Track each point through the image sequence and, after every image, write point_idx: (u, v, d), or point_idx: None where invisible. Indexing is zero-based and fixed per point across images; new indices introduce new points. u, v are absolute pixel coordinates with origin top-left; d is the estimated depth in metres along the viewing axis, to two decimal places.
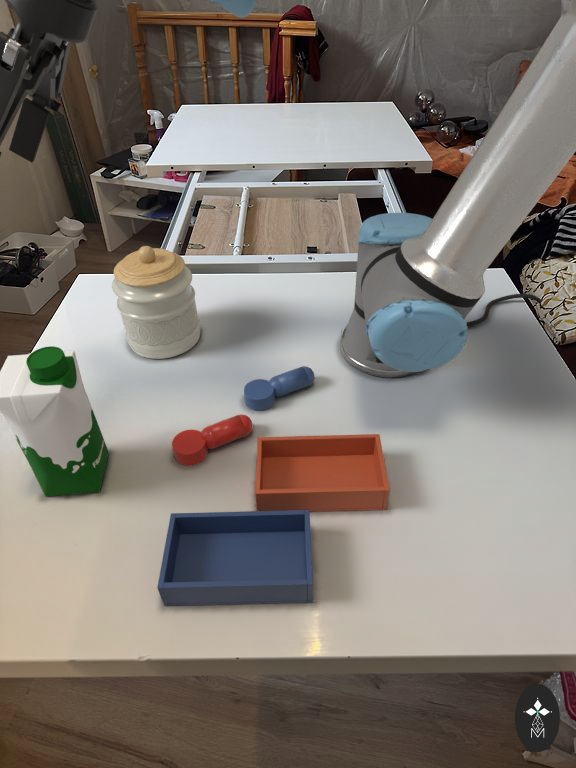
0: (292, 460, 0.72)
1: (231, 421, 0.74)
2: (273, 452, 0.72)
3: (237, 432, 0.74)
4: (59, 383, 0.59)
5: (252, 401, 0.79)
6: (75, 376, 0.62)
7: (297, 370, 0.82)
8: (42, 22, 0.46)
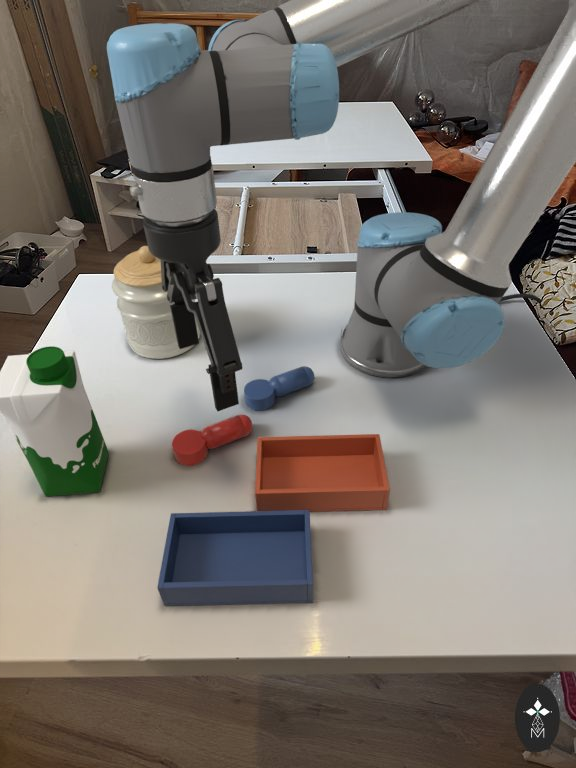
0: (292, 460, 0.72)
1: (231, 421, 0.74)
2: (273, 452, 0.72)
3: (237, 432, 0.74)
4: (59, 383, 0.59)
5: (252, 401, 0.79)
6: (75, 376, 0.62)
7: (297, 370, 0.82)
8: (204, 252, 0.53)
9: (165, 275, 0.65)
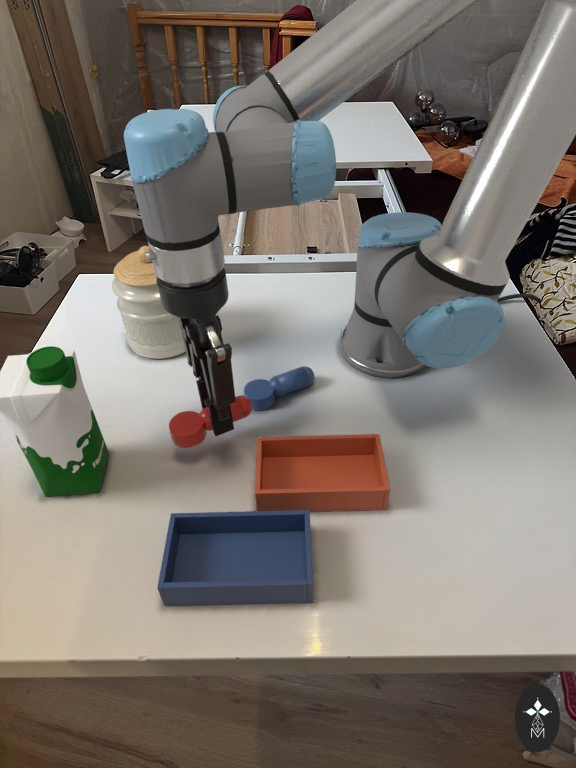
0: (292, 460, 0.72)
1: None
2: (273, 452, 0.72)
3: (236, 414, 0.72)
4: (59, 383, 0.59)
5: (252, 401, 0.79)
6: (75, 376, 0.62)
7: (297, 370, 0.82)
8: (214, 308, 0.57)
9: (186, 343, 0.68)
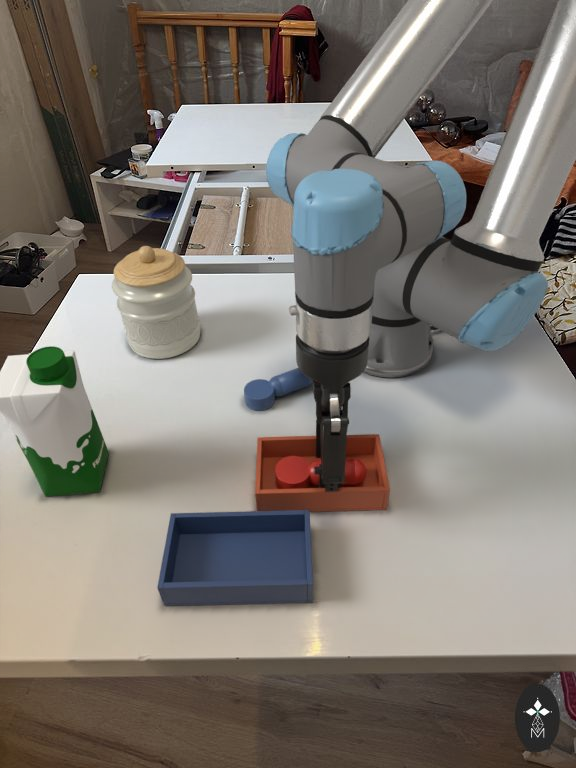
0: None
1: None
2: (273, 452, 0.72)
3: None
4: (59, 383, 0.59)
5: (252, 401, 0.79)
6: (75, 376, 0.62)
7: (297, 370, 0.82)
8: (343, 379, 0.53)
9: None
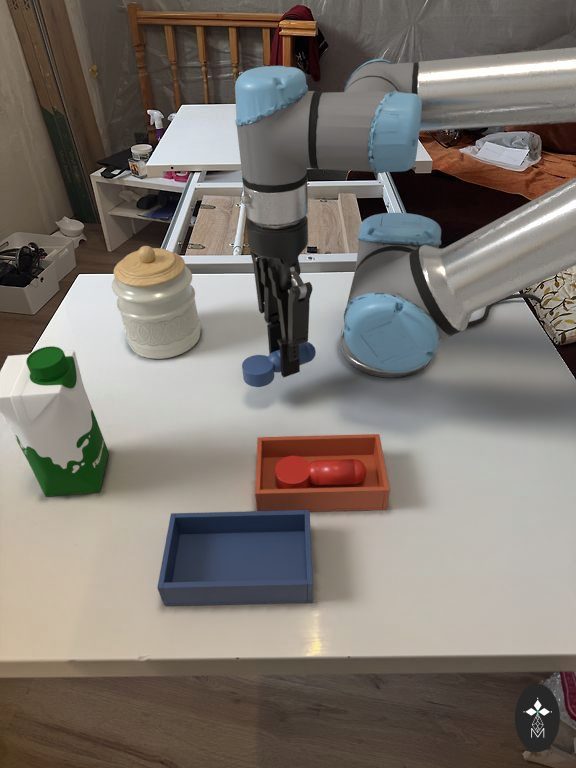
0: None
1: (343, 464, 0.67)
2: (273, 452, 0.72)
3: (345, 478, 0.67)
4: (59, 383, 0.59)
5: (250, 377, 0.76)
6: (75, 376, 0.62)
7: None
8: (297, 249, 0.64)
9: (260, 290, 0.75)
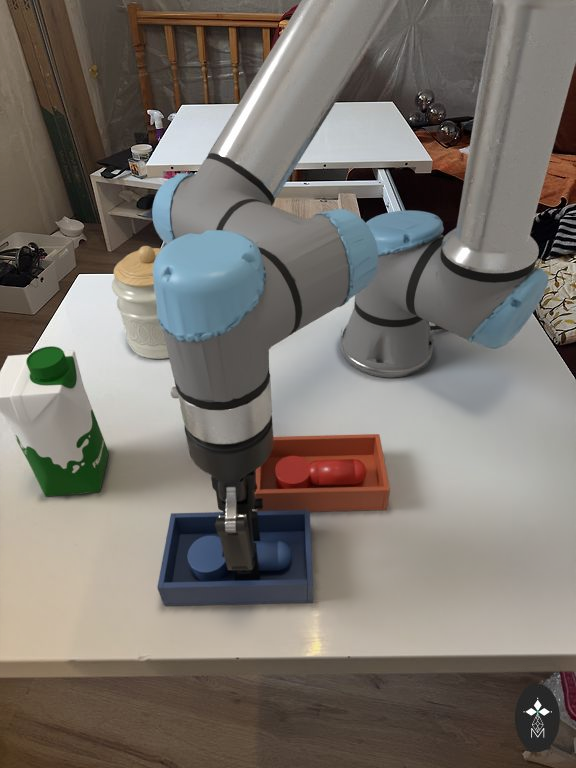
0: None
1: (343, 464, 0.67)
2: (273, 452, 0.72)
3: (345, 478, 0.67)
4: (59, 383, 0.59)
5: (190, 567, 0.59)
6: (75, 376, 0.62)
7: (267, 546, 0.59)
8: (238, 472, 0.44)
9: None
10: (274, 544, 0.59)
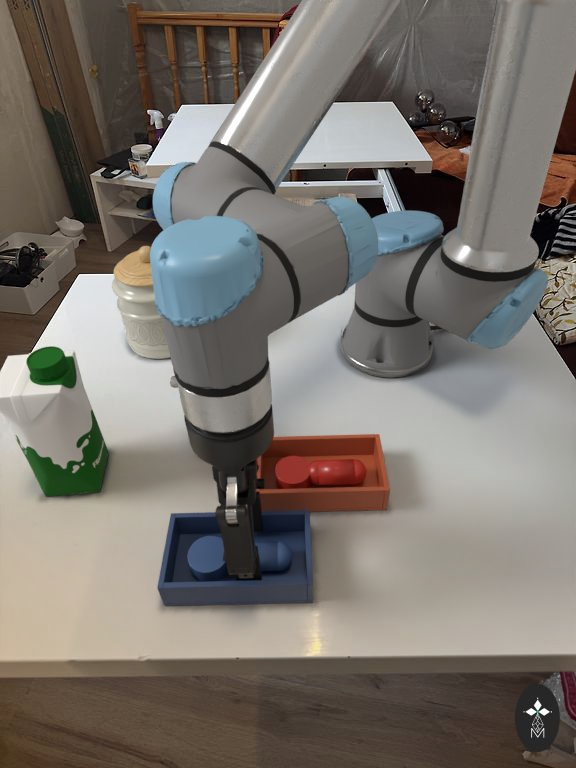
0: None
1: (343, 464, 0.67)
2: (273, 452, 0.72)
3: (345, 478, 0.67)
4: (59, 383, 0.59)
5: (190, 568, 0.59)
6: (75, 376, 0.62)
7: (267, 547, 0.59)
8: (239, 462, 0.44)
9: None
10: (274, 544, 0.59)
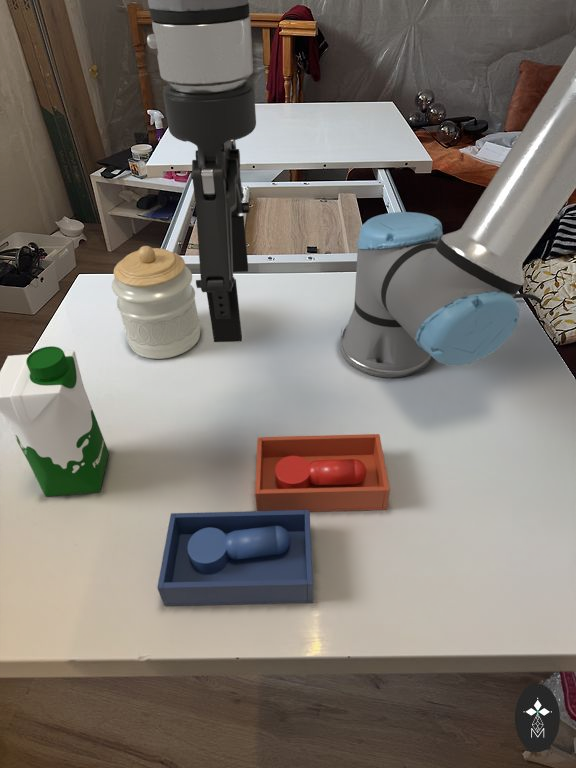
0: None
1: (343, 464, 0.67)
2: (273, 452, 0.72)
3: (345, 478, 0.67)
4: (59, 383, 0.59)
5: (192, 560, 0.59)
6: (75, 376, 0.62)
7: (266, 532, 0.60)
8: (218, 134, 0.43)
9: None
10: (272, 529, 0.60)
